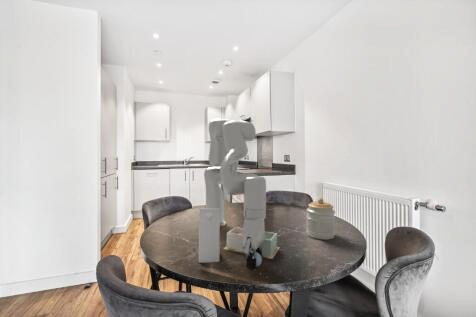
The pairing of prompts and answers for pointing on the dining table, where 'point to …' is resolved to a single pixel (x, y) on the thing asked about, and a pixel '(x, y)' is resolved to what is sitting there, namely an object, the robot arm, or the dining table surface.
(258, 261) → the slate ball
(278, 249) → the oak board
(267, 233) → the sage cup
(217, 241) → the milk carton
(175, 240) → the dining table surface
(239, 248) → the cream cup
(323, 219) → the jar
